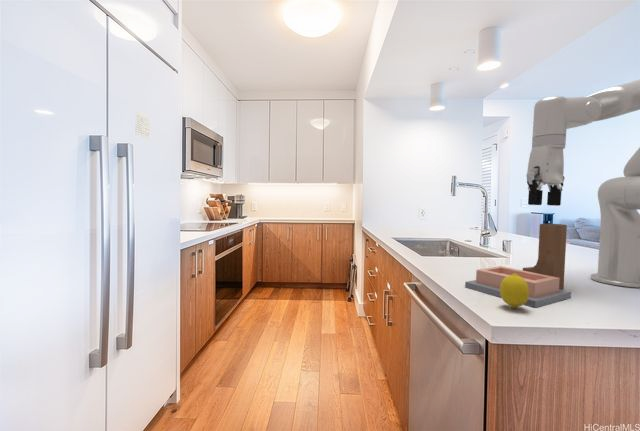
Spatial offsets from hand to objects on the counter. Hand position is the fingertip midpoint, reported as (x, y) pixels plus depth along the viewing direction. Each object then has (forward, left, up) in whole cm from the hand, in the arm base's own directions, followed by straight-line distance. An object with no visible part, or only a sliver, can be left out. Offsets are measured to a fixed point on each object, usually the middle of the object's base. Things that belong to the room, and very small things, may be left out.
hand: (544, 205), depth 85 cm
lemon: (+25, +7, -23) cm, 35 cm away
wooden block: (0, 0, -23) cm, 23 cm away
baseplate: (+13, 0, -23) cm, 26 cm away
